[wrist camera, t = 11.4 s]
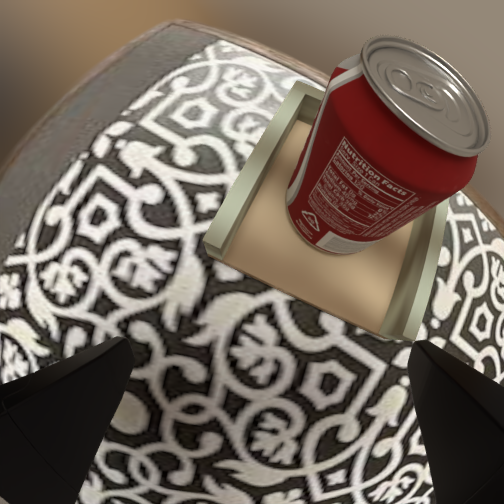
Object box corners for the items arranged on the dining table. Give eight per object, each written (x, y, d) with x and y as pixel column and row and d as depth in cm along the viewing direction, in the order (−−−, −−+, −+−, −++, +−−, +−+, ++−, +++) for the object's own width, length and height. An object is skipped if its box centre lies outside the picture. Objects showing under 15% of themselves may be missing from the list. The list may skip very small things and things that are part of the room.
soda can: (373, 268, 18) (516, 201, 6) (274, 242, 18) (338, 116, 6) (381, 179, 20) (479, 73, 8) (294, 152, 20) (344, 7, 8)
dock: (384, 338, 18) (415, 340, 14) (208, 256, 18) (202, 240, 15) (426, 186, 21) (452, 166, 17) (288, 112, 21) (296, 80, 18)
